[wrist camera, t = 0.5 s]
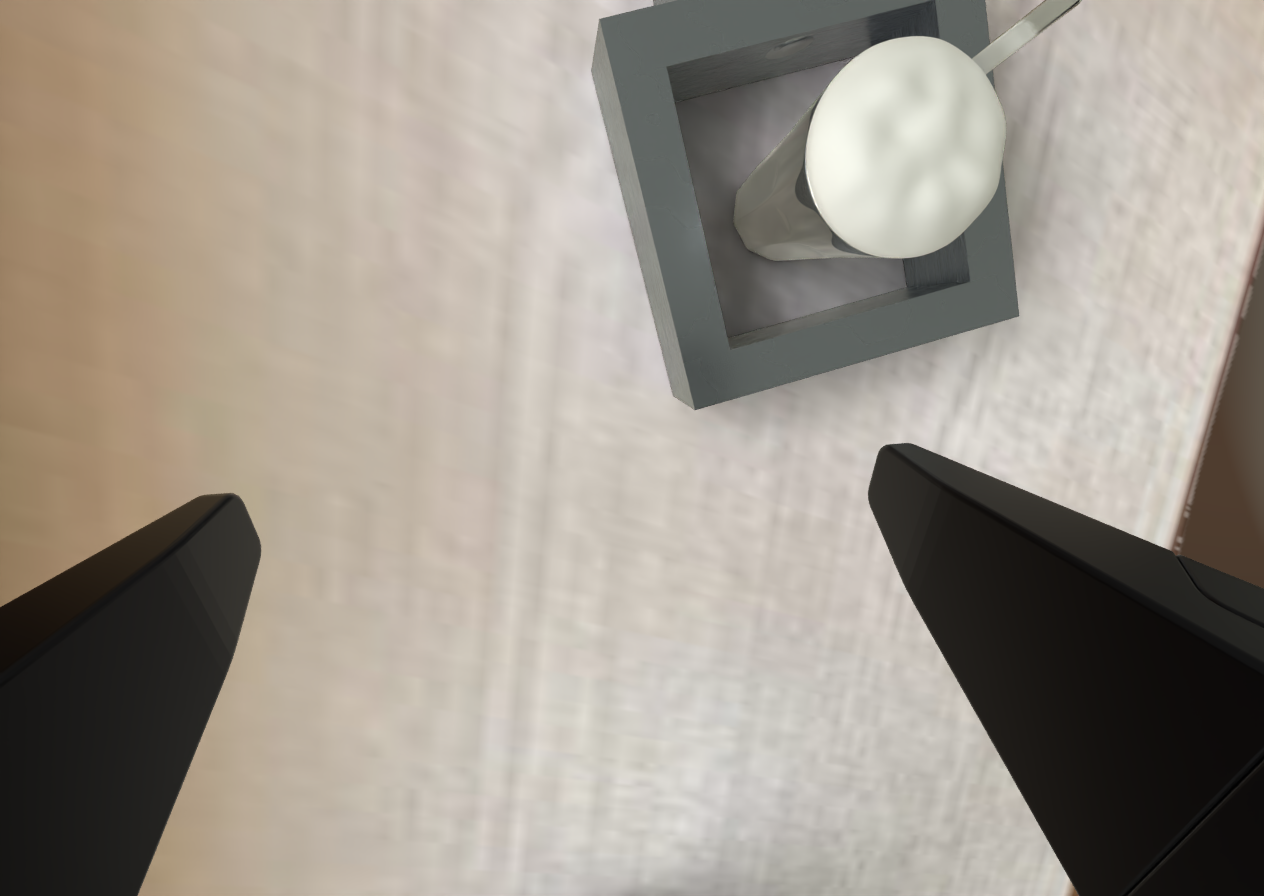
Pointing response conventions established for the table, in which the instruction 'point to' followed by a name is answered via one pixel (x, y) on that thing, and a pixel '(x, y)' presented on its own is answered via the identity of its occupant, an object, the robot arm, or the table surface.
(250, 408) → the table surface
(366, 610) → the table surface
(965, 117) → the milkshake
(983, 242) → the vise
